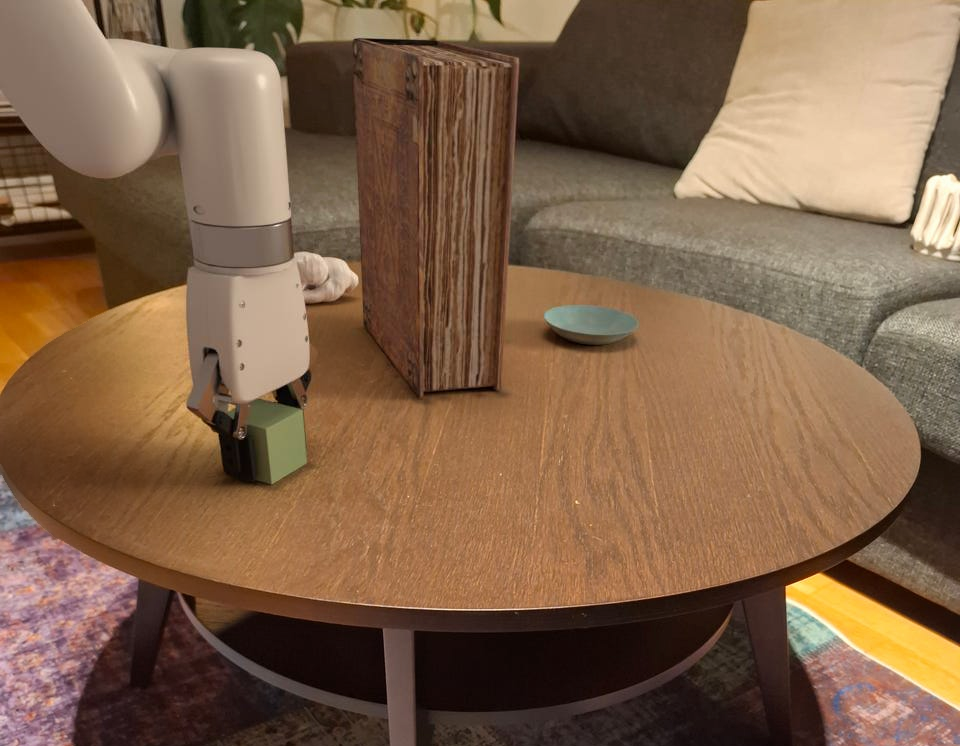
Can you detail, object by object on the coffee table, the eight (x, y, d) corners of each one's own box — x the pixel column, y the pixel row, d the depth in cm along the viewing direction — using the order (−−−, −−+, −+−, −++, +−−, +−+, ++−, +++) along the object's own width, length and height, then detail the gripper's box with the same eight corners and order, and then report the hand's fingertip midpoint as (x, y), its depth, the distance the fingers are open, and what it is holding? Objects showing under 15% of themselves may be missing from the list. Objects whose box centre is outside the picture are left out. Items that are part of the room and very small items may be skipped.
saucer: (646, 331, 115) (648, 313, 114) (622, 358, 106) (625, 339, 105) (558, 317, 119) (560, 299, 117) (528, 342, 110) (530, 323, 108)
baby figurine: (365, 298, 123) (358, 254, 115) (292, 343, 120) (280, 301, 112) (328, 257, 125) (319, 210, 117) (256, 300, 122) (241, 255, 114)
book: (501, 392, 96) (520, 58, 78) (418, 400, 93) (418, 55, 75) (433, 321, 115) (436, 40, 97) (362, 325, 112) (352, 37, 95)
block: (225, 471, 78) (217, 415, 75) (262, 450, 82) (256, 397, 79) (271, 484, 76) (265, 429, 73) (307, 463, 80) (303, 409, 77)
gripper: (274, 217, 76) (292, 421, 86) (120, 258, 63) (162, 490, 74) (348, 230, 73) (357, 438, 84) (203, 275, 61) (235, 513, 71)
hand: (266, 460), depth 79 cm, fingers open, 6 cm apart
